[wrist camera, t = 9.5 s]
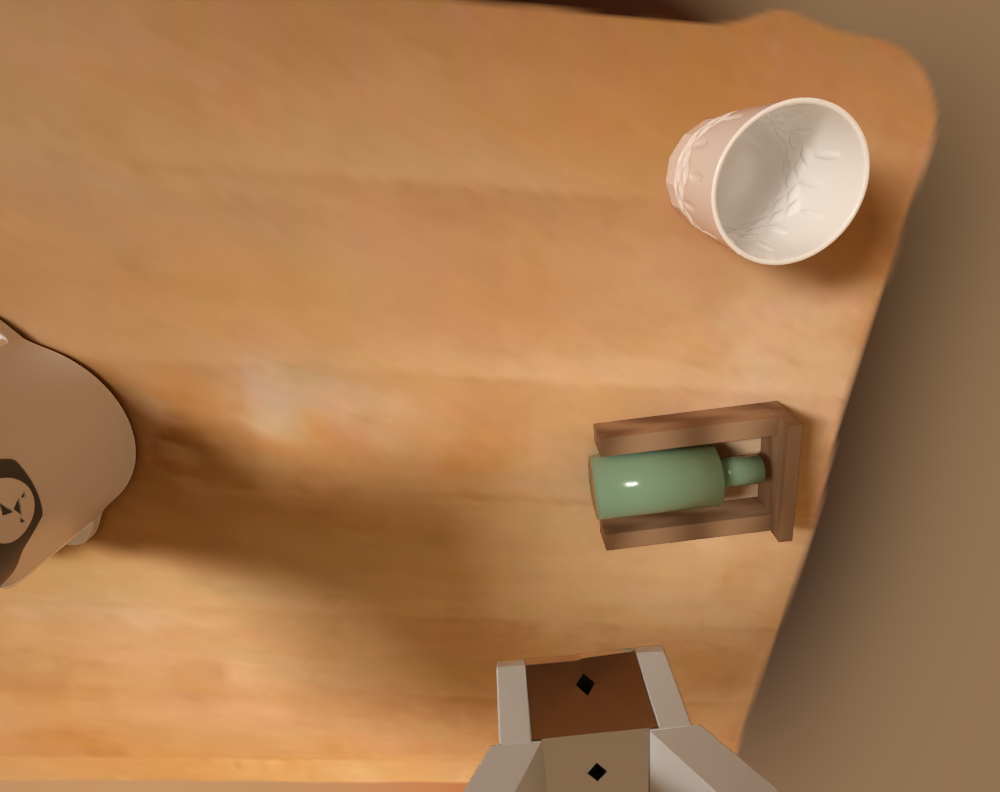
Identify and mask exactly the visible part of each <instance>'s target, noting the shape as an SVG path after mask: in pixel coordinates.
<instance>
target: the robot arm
mask: <svg viewBox="0 0 1000 792" xmlns="http://www.w3.org/2000/svg"><path fill="white" fill-rule="evenodd" d="M135 460H136V446H135V439H134V435H133V431H132V428H131V425H130V423H129V420H128V418H127V416H126V414H125V412H124V410H123V409H122V407H121V406H120V404H119V402H118V401H117V400H116V398H115V397H114V396H113V395H112V393H111V392H110V391H109V390H108V389H107V388H106V387H105V385H104V384H102V383H101V382H100V381H99V380H98V379H97V378H96V377H95V376H94V375H92V374H91V373H90V372H89V371H87V370H86V369H85V368H83V367H82V366H80V365H79V364H77V363H76V362H74V361H72V360H71V359H69V358H67V357H65V356H63V355H61V354H59V353H57V352H54V351H52V350H49V349H47V348H44V347H42V346H39V345H37V344H34V343H32V342H30V341H28V340H26V339H24V338H22V337H21V336H20V335H19V334H18V333H16V332H15V331H14V330H13V329H11V328H10V327H9V326H8V325H6V324H5V323H4V322H3V321H1V320H0V588H2V587H3V588H5V589H7V588H10V587H13V586H15V585H17V584H18V583H20V582H21V581H22V580H24V579H25V578H26V577H27V576H28V575H30V574H31V573H32V572H33V571H35V570H36V569H37V568H38V567H39V566H41V565H42V564H43V563H44V562H45V561H47V560H48V559H49V558H50V557H52V556H53V555H54V554H55V553H56V552H57V551H59V550H60V549H61V548H62V547H63V546H65V545H80V544H83V543H85V542H86V541H87V540H88V539H90V538H91V537H92V536H93V535H94V534H95V533H96V531H97V529H98V526H99V523H100V520H101V516H102V512H103V511H104V509H105V508H106V507H107V506H108V505H109V504H110V503H111V502H112V501H113V500H114V499H115V498H117V497H118V496H119V495H120V494H121V492H122V491H123V490H124V489H125V487H126V486H127V484H128V482H129V480H130V478H131V476H132V473H133V470H134V466H135ZM525 662H526V666H525ZM526 674H527V675H526ZM496 675H497V702H498V729H499V745H494V746H490V748H489V750H488V751H487V753H486V755H485V756H484V758H483V760H482V761H481V763H480V765H479V766H478V768H477V770H476V771H475V773H474V775H473V776H472V778H471V780H470V781H469V783H468V785H467V786H466V788H465V790H464V791H463V792H779V791H778V790H777V789H776V788H775V787H773V786H772V785H771V784H770V783H769V782H768V781H766V780H765V779H764V778H763V777H762V776H760V775H759V774H758V773H757V772H756V771H754V770H753V769H752V768H751V767H750V766H749V765H748V764H746V763H745V762H744V761H743V760H741V758H739V757H738V756H737V755H736V754H735V753H734V752H732V751H731V750H730V749H729V748H728V747H726V746H725V745H724V744H723V743H722V742H721V741H719V740H718V739H717V738H716V737H715V736H714V735H712V734H711V733H710V732H709V731H708V730H706V729H705V728H704V727H703V726H702V725H701V724H700V725H692V724H691V721H690V718H689V716H688V713H687V710H686V708H685V705H684V702H683V699H682V697H681V694H680V691H679V689H678V686H677V683H676V680H675V678H674V675H673V672H672V670H671V667H670V664H669V661H668V659H667V656H666V653H665V651H664V649H663V648H662V647H661V645H656V646H647V647H638V648H633V649H632V648H626V649H618V650H609V651H601V652H592V653H583V654H578V655H570V656H556V657H543V658H530V659H523V660H510V661H498V662H497V668H496Z"/></svg>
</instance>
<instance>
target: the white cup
mask: <svg viewBox="0 0 1000 792" xmlns="http://www.w3.org/2000/svg"><path fill="white" fill-rule="evenodd" d="M869 174H870V157H869V150H868V145H867V142H866V139H865V136H864V134H863V132H862V130H861V128H860V126H859V125H858V123H857V122H856V121H855V120H854V118H853V117H852V116H851V115H850V114H849V113H848V112H846V111H845V110H844V109H842V108H841V107H839V106H838V105H836V104H834V103H831V102H829V101H826V100H822V99H817V98H794V99H789V100H784V101H779V102H775V103H770V104H764V105H760V106H755V107H750V108H744V109H741V110H737V111H734V112H729V113H727V114H724V115H722V116H720V117H717V118H711V119H706V120H704V121H702V122H701V123H700V124H698V125H697V126H695V127H694V128H693V129H691V130H690V131H688V132H687V133H686V134H684V135H683V137H682V138H681V140H680V141H679V143H678V145H677V146H676V148H675V149H674V151H673V153H672V154H671V156H670V158H669V164H668V170H667V176H666V186H667V190H668V193H669V197H670V200H671V204H672V206H673V207H674V208H675V209H676V210H677V211H678V212H679V213H680V214H681V215H682V216H683V217H684V218H685V220H686V221H688V222H690V223H691V224H692V225H694V226H695V227H696V228H697V229H699V230H700V231H702V232H703V233H705V234H706V235H708V236H709V237H711V238H712V239H714V240H716V241H717V242H719V243H721V244H722V245H724V246H726V247H727V248H729V249H731V250H732V251H734V252H736V253H737V254H739V255H741V256H742V257H744V258H746V259H748V260H750V261H753V262H756V263H760V264H766V265H785V264H791V263H795V262H799V261H802V260H804V259H807V258H809V257H811V256H813V255H815V254H817V253H819V252H820V251H822V250H823V249H825V248H826V247H828V246H829V245H830V244H831V243H833V242H834V241H835V240H836V239H837V238H838V237H839V236H840V235H841V234H842V233H843V232H844V231H845V229H846V228H847V227H848V226H849V224H850V223H851V222H852V220H853V219H854V217H855V215H856V214H857V212H858V210H859V208H860V206H861V204H862V201H863V199H864V196H865V193H866V190H867V186H868V181H869Z"/></svg>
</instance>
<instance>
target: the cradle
mask: <svg viewBox="0 0 1000 792" xmlns="http://www.w3.org/2000/svg"><path fill="white" fill-rule="evenodd" d="M802 430H803V424H802V423H801V422H800V421H799V420H797V419H796V418H795V417H794V416H793V415H792V414H791V413H790V412H788V411H787V410H786V409H785V408H784V407H783V406H782V405H781V404H779V403H778V402H777V401H773V402H765V403H757V404H749V405H741V406H733V407H725V408H717V409H709V410H701V411H693V412H686V413H678V414H670V415H662V416H654V417H646V418H638V419H630V420H622V421H614V422H606V423H598V424H594V439H595V443H596V446H597V449H598V451H599V454H600V456H601V457H607V456H615V455H623V454H631V453H639V452H647V451H655V450H663V449H671V448H679V447H687V446H695V445H703V444H711V443H719V442H727V441H735V440H743V439H752V438H760V437H761V453H760V457H761V458H762V460H763V463H764V466H765V481H764V482H763V483H760V484H759V485H758V497H752V498H744V499H736V500H728V501H723V503H722V504H721V505H720V506H715V507H706V508H697V509H689V510H680V511H671V512H662V513H654V514H645V515H636V516H627V517H618V518H610V519H601V520H600V532H601V535H602V538H603V541H604V544H605V548H606V550H615V549H623V548H631V547H639V546H647V545H655V544H663V543H672V542H680V541H688V540H696V539H704V538H712V537H720V536H729V535H737V534H745V533H753V532H761V531H769V530H770V531H771V532H772V533H773V535H774V536H775V537H776V539H777V540H778V541H779V542H785V541H792V538H793V527H794V516H795V505H796V495H797V484H798V473H799V462H800V452H801V441H802Z"/></svg>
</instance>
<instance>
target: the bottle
mask: <svg viewBox="0 0 1000 792" xmlns="http://www.w3.org/2000/svg"><path fill="white" fill-rule="evenodd" d="M588 467H589V482H590V490H591V496H592V501H593V506H594V510H595V514H596V517H597V519H598V520H601V519H610V518H618V517H627V516H636V515H645V514H654V513H662V512H671V511H680V510H689V509H697V508H706V507H715V506H720V505H721V504H722V503H723V500H724V495H725V487H734V486H743V485H751V484H760V483H763V482H764V481H765V466H764V463H763V460H762V458H761V457H760V456H759V455H758V454H753V455H745V456H736V457H727V458H720V457H719V455H718V452H717V450H716V449H715V447H714V446H713V445H712V444H703V445H695V446H687V447H679V448H671V449H663V450H655V451H647V452H639V453H631V454H623V455H615V456H607V457H601V456H600V455H593V456H589V461H588Z"/></svg>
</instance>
